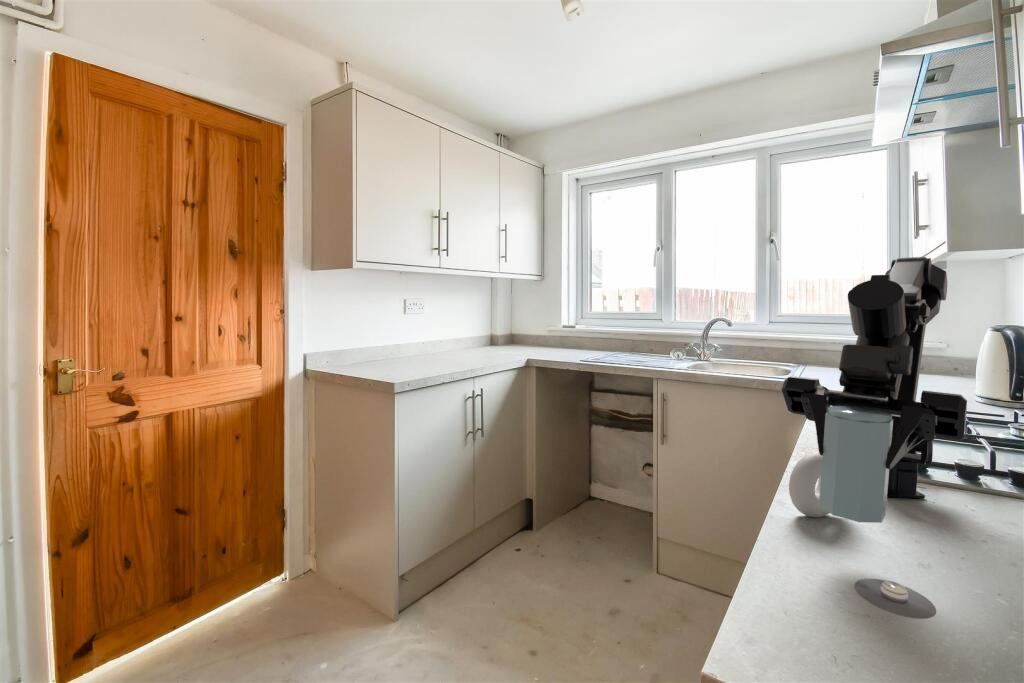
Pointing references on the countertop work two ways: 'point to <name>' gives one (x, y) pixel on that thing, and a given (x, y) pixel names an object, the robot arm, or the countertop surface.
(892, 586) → the tealight
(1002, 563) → the countertop surface
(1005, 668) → the countertop surface
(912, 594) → the slate coaster
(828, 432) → the dome-topped hexagonal post
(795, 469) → the donut
